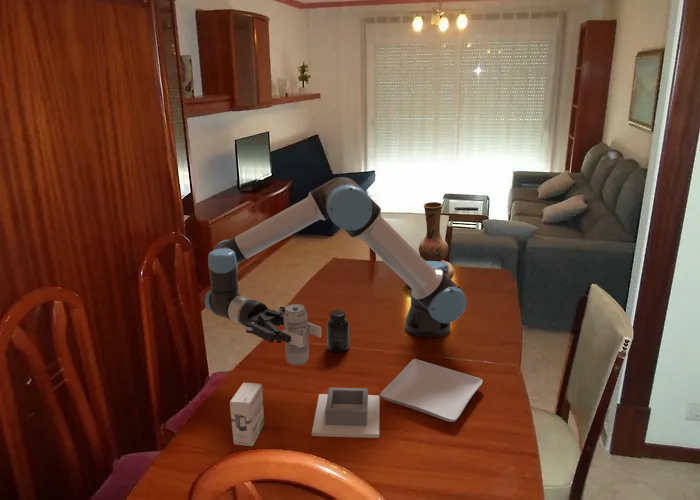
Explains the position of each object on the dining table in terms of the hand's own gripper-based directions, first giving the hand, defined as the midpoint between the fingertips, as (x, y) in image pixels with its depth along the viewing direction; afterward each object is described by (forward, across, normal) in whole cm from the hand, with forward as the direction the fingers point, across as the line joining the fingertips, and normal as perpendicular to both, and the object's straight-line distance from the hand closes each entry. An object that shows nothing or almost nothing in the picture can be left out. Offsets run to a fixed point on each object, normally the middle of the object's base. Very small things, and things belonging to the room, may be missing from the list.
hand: (311, 337), depth 132 cm
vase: (-17, -88, -20) cm, 92 cm away
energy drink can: (-5, 0, -9) cm, 10 cm away
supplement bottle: (-14, -27, -20) cm, 37 cm away
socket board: (+10, -2, -20) cm, 22 cm away
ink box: (-4, +18, -20) cm, 27 cm away
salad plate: (+22, -23, -20) cm, 38 cm away
